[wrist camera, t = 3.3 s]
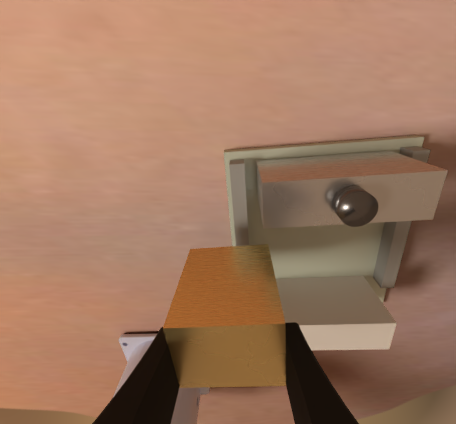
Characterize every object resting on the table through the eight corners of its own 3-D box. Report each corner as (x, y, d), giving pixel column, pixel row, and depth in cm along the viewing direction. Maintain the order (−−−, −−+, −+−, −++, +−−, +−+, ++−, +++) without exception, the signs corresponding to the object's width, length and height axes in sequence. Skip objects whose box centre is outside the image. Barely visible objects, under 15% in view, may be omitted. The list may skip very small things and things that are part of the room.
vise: (376, 302, 21) (416, 361, 16) (238, 306, 22) (238, 363, 17) (415, 135, 15) (496, 151, 10) (224, 150, 16) (218, 171, 11)
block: (270, 292, 15) (285, 385, 10) (199, 296, 15) (179, 387, 10) (268, 244, 14) (285, 323, 9) (190, 249, 14) (162, 328, 9)
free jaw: (382, 188, 15) (449, 229, 10) (257, 196, 16) (265, 239, 11) (390, 150, 14) (467, 177, 10) (256, 160, 15) (264, 190, 10)
